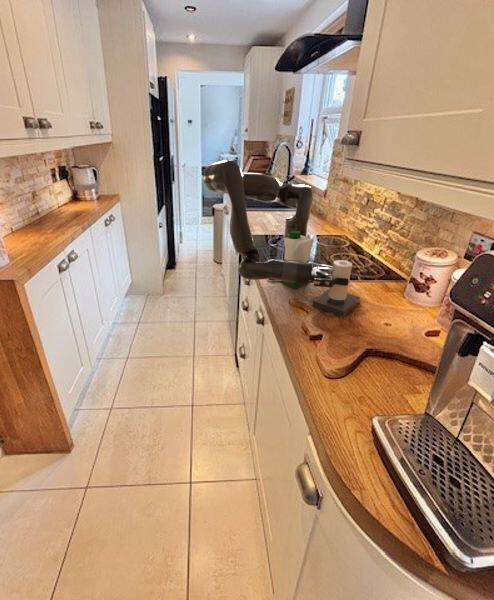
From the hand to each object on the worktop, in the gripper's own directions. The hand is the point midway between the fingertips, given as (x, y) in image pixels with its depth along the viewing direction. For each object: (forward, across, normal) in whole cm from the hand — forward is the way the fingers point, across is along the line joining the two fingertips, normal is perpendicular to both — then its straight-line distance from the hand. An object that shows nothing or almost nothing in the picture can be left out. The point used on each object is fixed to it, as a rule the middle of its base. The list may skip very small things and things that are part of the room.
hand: (348, 278), depth 106 cm
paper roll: (-2, 0, +7) cm, 7 cm away
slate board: (-2, 0, +10) cm, 10 cm away
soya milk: (-18, +12, +10) cm, 24 cm away
